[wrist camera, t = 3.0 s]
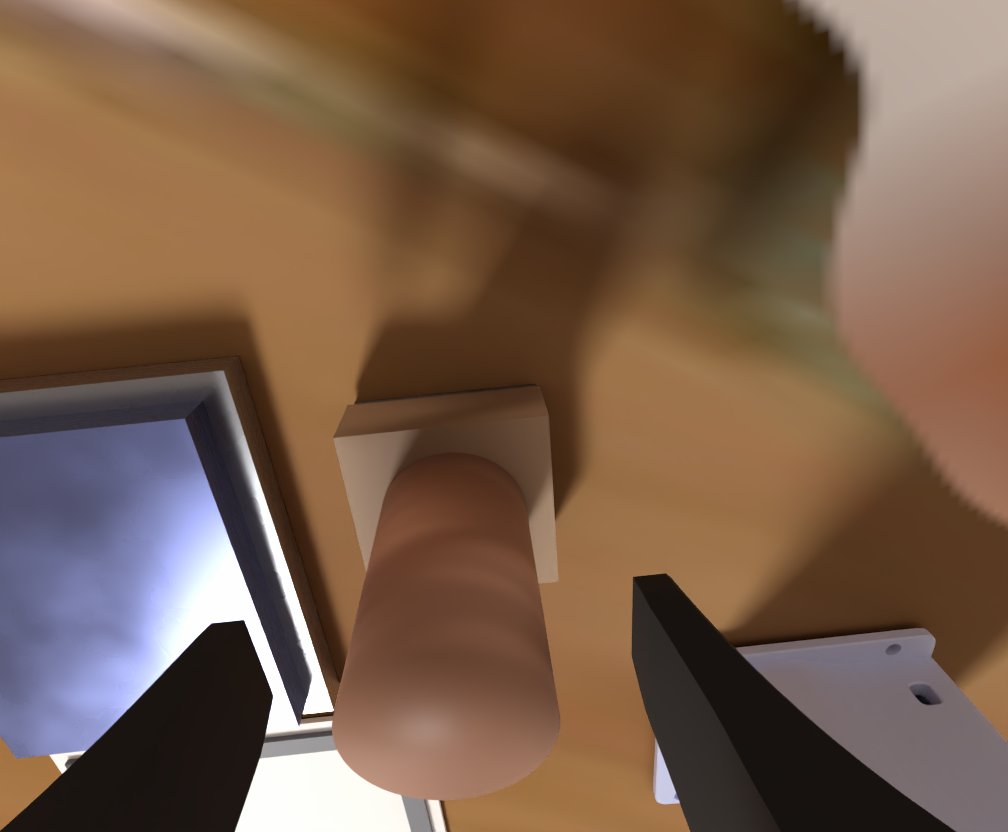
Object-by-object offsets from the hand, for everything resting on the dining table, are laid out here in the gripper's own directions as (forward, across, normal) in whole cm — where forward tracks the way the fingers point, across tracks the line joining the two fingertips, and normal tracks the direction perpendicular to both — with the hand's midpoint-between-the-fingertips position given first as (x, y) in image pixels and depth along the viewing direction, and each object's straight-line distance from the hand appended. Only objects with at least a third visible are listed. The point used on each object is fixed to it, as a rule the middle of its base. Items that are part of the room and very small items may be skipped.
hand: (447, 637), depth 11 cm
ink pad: (+6, +10, +2) cm, 12 cm away
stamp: (+6, 0, 0) cm, 6 cm away
